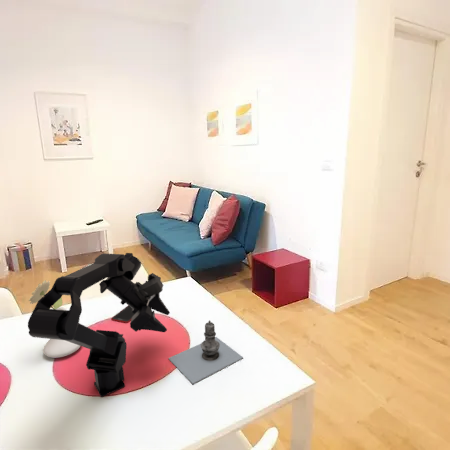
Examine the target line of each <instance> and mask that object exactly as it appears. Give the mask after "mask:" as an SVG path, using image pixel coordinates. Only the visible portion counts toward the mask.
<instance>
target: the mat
mask: <svg viewBox="0 0 450 450" xmlns="http://www.w3.org/2000/svg"><path fill="white" fill-rule="evenodd" d="M215 340H216V341H218V342H219V343H220V347H219V349H218V351H217V352H218V353H219V357H218V358H217V359H216V360H213V361H208V360H205V359H203V357H202V354H203V350H202V348H201V343H199V344H197V345H195V346H192V347H190V348H188V349H185V350H183V351H181V352H179V353H177V354H175V355H172V356H170V357H168V358H167V359H168V360H169V361H170V362H171V364H173V366H174V367H177V368H176V369H177V370H178V371H179V372H180V373H181V374H182V375H183V376H184V377H185V378H186V379H187V380H188V381H189V383H190V384H192V385H195V384H197V383H199V382H201V381H203V380H205V379H207V378H209V377H211V376H213V375H214V374H216V373H218V372H220V371H222V370H223V369H226V368H228V367H229V366H231V365H234V364H235V363H238V362H239V361H242V360H243V359H244V356H242V355H241V354H239V352H237V351H235V350H234V349H233V348H232V347H230V345H227V343H225V342H224V341H222V340H221V339H220V338H218V336H215Z"/></svg>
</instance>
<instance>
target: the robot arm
mask: <svg viewBox="0 0 450 450" xmlns="http://www.w3.org/2000/svg"><path fill="white" fill-rule="evenodd" d="M141 267H142V262H141V261H140V259H139V258H138V257H136V256H134V254H133V253H132V252H126V253H125V254H123V253H101V254H99V255H98V256H97V257H96V258H94V262H93V263H91V264H89V265H87V266H85V267H83V268H80V269H78V270H76V271H73V272H71V273H69V274H67V275H62V276H59V277H58V278H56V279H55V281H54V283H53V285H52V287H51V289H50V290H48V291H47V292H46V294H45V295H44V296H43V297H42V298H41V299H40V300H39V301H38V302H36V303H35V304H36V305H35V306H34V308H33V311H32V312H31V314H30V316H29V318H28V322H27V328H28V335H29V336H31V337H32V338H37V339H38V338H39V339H48V340H50V339H58V340H65V341H68V342H71V343H74V344H77V345H79V346H80V347H83V348H85V349H88V350H89V355H88V357H87V361H86V364H85V366H86V368H87V370H93V371H94V372H93V373H94V379H95V381H94V382H93V384H94V387H95V389H96V390H97V392H98V394H99V396H100V397H101V398H103V397H105V396H107V395H110V394H112V393H114V392H116V391H118V390H120V389H123V388H124V387H126V384H125V383H124V380H125V375H124V373H125V372H124V368H123V366H124V365H125V364H126V362H127V361H126V360H127V348H128V347H127V346H128V345H127V342H126V339H125V337H124V334H123V333H119V332H118V331H116V330H115V331H114V330H101V329H96V330H94V329H92V328H90V327H88V326H86V325H83V324H82V323H80V317H81V314H82V312H83V307H82V302H81V296H82V294H83V291H85V290H87V289H88V288H91V287H92V286H95V285H96V284H97V283H99V290H100V294H103V293H105V292H106V291H107V290H108V291H109V292H110V293H112V294H113V295H114V296H116V297H117V298H118V299H119V300H120V304H121V305H122V306H123V305H125V304H126V305H127V306H128V305H129V306H130V307H131V308H133V310H132V312H133V313H134V314H135V313H136V312H137V311H138V312H137V313H136V314H135V315H134V316H133V317H132V319H131V321H130V322H129V328H130V329H132V330H133V331H134V332H138V331H139V332H140V331H141V330H143V331H153V332H160V333H166V332H167V330H168V328H167V327H166V326H165V325H164V324H163V323H162V322H161V321H160V320H159V319H158V318H156V315H155V312H158V313H161V314H163V315H165V316H168V315H170V314H171V313H170V311H169V309H168V308H167V306H166V304H165V303H164V302H163V300H162V299H161V297H160V295H161V294H160V293H161V292H163V288H164V284H163V282H162V280H161V279H162V278H161V277H160V276H159V275H158V274H157V275H156V274H155V273H153V272H152V273H150V274H148V275H147V280H145V281H144V283H141V282H140V281H136V282H133V280H134V278H135V276H136V275H137V273H139V271H140V269H141ZM63 296H69V297H70V302H71V305H70V307H69V309H68V310H57V309H52V308H50V307H54V306H53V305H54V304H55V303H56V302H57V301H58V300H59V299H60V298H63ZM49 308H50V309H49Z"/></svg>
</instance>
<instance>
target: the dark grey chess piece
mask: <svg viewBox="0 0 450 450" xmlns="http://www.w3.org/2000/svg"><path fill="white" fill-rule="evenodd" d="M215 329H216V328H215V324H214V323H213V322H212V321H211V320H208V322H206V323H205V324H204V332H203V336H204V340H203V341H202V342H201V343H200V344H201V348H202V350H203V354H202V357H203V359H205V360H208V361H213V360H216V359H217V358H218V357H219V353H218V352H217V351H218V349H219V347H220V343H219V342H218V341H216V340H215V337H216V335H217V332H216V330H215Z"/></svg>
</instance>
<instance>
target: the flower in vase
mask: <svg viewBox="0 0 450 450" xmlns="http://www.w3.org/2000/svg"><path fill="white" fill-rule="evenodd" d="M50 285H51V282H50V280H47V279H46V280H43V281H42V283H39V284H38V285H37V286H36V287H35V290H34V291H32V292H31V296H30V298H29V300H28V302H29V304H30V305H31V304H37V302H38V301H39V300H40V299H41V298H42V297H43V296H44V295H45V294H46V293H48V292H49V289H50ZM62 306H63V297H61V298H60V299H59V300H58V301H57V302H56V303H55V304H54V305H53V306H52V307H50V308H49V309H57V310H67V307H62ZM80 347H81V346H79V345H77V344H74V343H71V342H68V341H65V340H58V339H48V341H47V342H46V343H45V344H44V345H43V349H42V352H43V354H44V355H45V356H46V357H48V358H55V359H57V358H63V357H66V356H69V355H71V354H73V353H76V352H77V350H79V349H80Z"/></svg>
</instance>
